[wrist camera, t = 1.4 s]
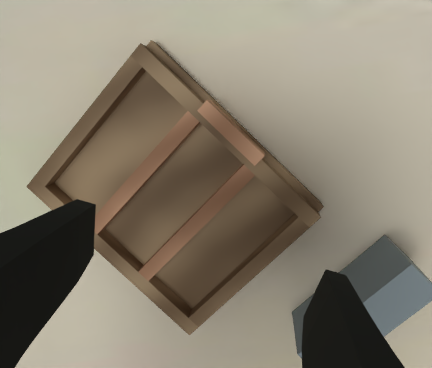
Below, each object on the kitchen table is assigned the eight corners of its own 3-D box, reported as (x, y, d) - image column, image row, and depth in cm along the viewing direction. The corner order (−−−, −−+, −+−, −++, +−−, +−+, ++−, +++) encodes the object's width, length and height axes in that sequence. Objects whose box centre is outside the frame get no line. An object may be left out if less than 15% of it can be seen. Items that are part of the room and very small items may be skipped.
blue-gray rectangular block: (408, 257, 26) (441, 293, 21) (315, 332, 28) (325, 380, 23) (384, 233, 26) (411, 264, 21) (291, 311, 28) (297, 354, 23)
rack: (321, 203, 26) (328, 214, 23) (190, 322, 29) (183, 344, 27) (155, 42, 25) (142, 35, 22) (40, 184, 28) (17, 193, 26)
